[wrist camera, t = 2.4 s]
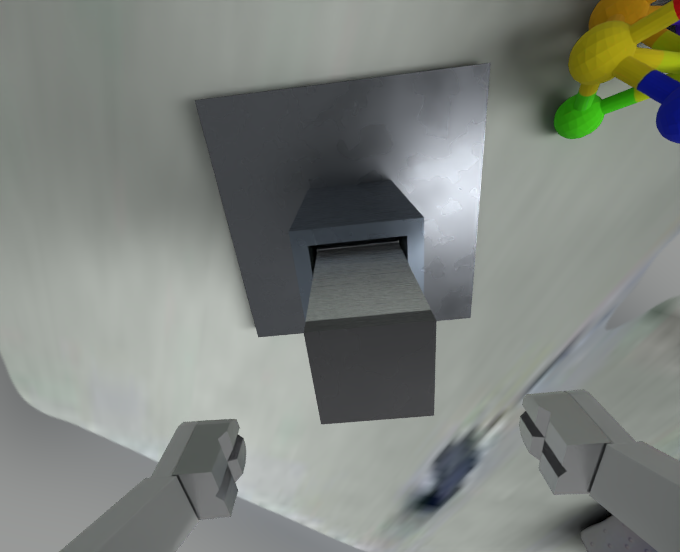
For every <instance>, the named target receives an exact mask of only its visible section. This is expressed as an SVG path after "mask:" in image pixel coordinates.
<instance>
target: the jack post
mask: <svg viewBox="0 0 680 552" xmlns="http://www.w3.org/2000/svg"><path fill="white" fill-rule="evenodd" d="M304 337H305V342H306V347H307V352H308V358H309V363H310V368H311V373H312V378H313V384H314V389H315V394H316V399H317V405H318V410H319V415H320V420H321V424H332V423H344V422H357V421H370V420H382V419H395V418H408V417H421V416H433V415H434V393H435V352H436V319H435V317H434V315H433V313H432V311H431V309H430V307H429V304H428V302H427V300H426V298H425V296H424V294H423V292H422V290H421V288H420V286H419V284H418V282H417V280H416V278H415V276H414V274H413V272H412V270H411V268H410V265H409V263H408V261H407V259H406V257H405V255H404V253H403V251H402V249H401V247H400V245H399V241H398V239H396V237H388V238H379V239H369V240H359V241H350V242H340V243H330V244H321V245H318V247H317V256H316V262H315V268H314V274H313V280H312V286H311V292H310V298H309V304H308V310H307V316H306V322H305V328H304Z"/></svg>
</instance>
